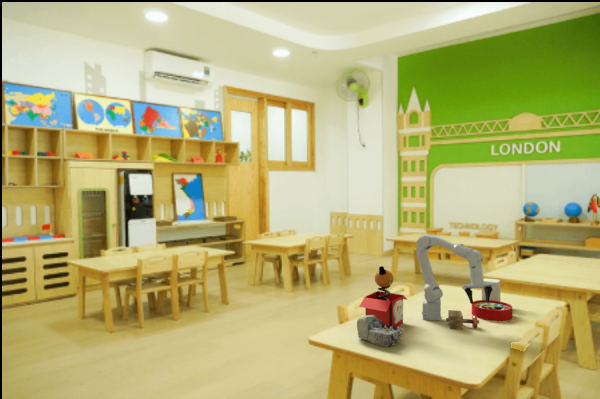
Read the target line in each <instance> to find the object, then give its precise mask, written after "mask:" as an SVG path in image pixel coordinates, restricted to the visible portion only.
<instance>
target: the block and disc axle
mask: <svg viewBox="0 0 600 399" xmlns="http://www.w3.org/2000/svg"><path fill="white" fill-rule="evenodd" d="M471 315H472V314H471ZM445 321H446V322H449V318H448V317H447V318H445ZM463 324H471V325H472V328H474V329H477V328H478V324H480V320H479V319H478V318H477V316H474V315H472V316H471V319H470V318H463Z"/></svg>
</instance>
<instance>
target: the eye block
mask: <svg viewBox="0 0 600 399" xmlns="http://www.w3.org/2000/svg"><path fill="white" fill-rule="evenodd" d="M447 316H448V317H447V318H449V322H448V327H449V329H450V330H456V331H457V330H458V331H463V330H464V323H463V319H464V316H463V313H462V311H461V310H453V309H451V310H450V309H448V315H447Z"/></svg>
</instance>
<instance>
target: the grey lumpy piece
mask: <svg viewBox="0 0 600 399" xmlns="http://www.w3.org/2000/svg"><path fill="white" fill-rule="evenodd" d="M356 328H357V335H358V336H357V337H358V338H359V339H360V340H364V341H367V342H369V343H371V342H372V344H373V343H374V345H376V344H377V345H376V346H380V345H382V347H386V348H388V347H390V346H393V345H394V346H395V345H396V343H397V342H398V341H401V338H400V337H402V336H403V334H402V332H404V329H403V328H401V326H399V327H396V325H395V324H393V325H392V326H390V325H389V324H387V325H386V326H385V325H384V323H383V322H382V321H381V320H378V319H377V317H376V316H375V315H367V316H366V315H364V316H362V317H359V318H358V319H357V322H356Z"/></svg>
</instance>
